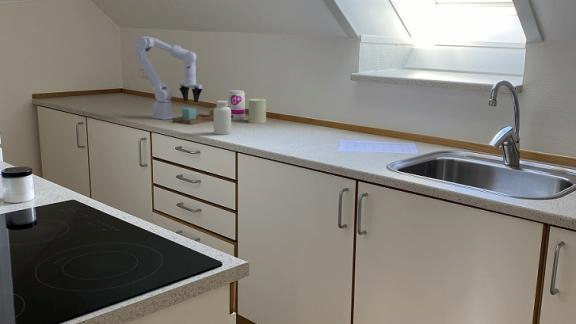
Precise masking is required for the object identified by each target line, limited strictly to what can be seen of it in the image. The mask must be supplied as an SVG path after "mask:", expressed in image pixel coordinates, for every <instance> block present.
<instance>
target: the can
mask: <svg viewBox="0 0 576 324" xmlns="http://www.w3.org/2000/svg"><path fill="white" fill-rule="evenodd" d="M248 123H250V124H265V123H267V99H265V98H249V99H248Z"/></svg>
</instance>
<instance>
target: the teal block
mask: <svg viewBox="0 0 576 324" xmlns="http://www.w3.org/2000/svg"><path fill="white" fill-rule="evenodd" d="M196 114H197V108H193V107H183V108H181V117H182V119H188V120H190V119H196Z"/></svg>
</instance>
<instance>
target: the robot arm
mask: <svg viewBox="0 0 576 324" xmlns="http://www.w3.org/2000/svg"><path fill="white" fill-rule="evenodd" d="M134 46H135V57H136V59H137V61H138V62H139V64H140V66H141V68H142V69H143V71H144V73H145V74H146V76H147V78H148V80H149V82H150V83H151V85H152V86H153V90H152V91H153V93H154V97H155V100H156V101H154V102H153V104H152V117H151V118H152V119H157V120H171V119H172V120H173V118H176V117H174V116H172V101H171V99H172V97H173V92H172V90H171V89H170V88H169V87H168V86H167V85H166V84H165V83H164V82H163V81H162V79H161V77H160V76H159V74H158V72H157V70H156V68H155V67H154V65H153V63H152V62H151V60H150V58H149V56H148V55H149V52H150V50H151V49H152V48H154V47H156V48H158V49H160V50H163V51H165V52H168V53H170V56H172V57H174V58H176V59H178V60H181V61H183V62H184V82H179V88H178V89H179V92H180V93H181V96H182V98H183V99H182V100H183V102H188V99H189V91H190V88H191V91H192V97H193V102H194V103H198V102H199V99H200V95H201V93H202V91H203V85H202V84H200V83H197V73H196V72H197V66H196V65H197V64H196V61H197V60H198V56H197V54H196V52H194V51H193V50H191V51H190V50H189V49H188V48H187V49H184V48H182V47H181V45H176V44H175V45H170V44H169V43H166V42H164V41H162V40H160V39H158V38H155V37H153V36H152V37H151V36H150V35H146V36H142V35H139V36H138V37H137V38H136V39H135V41H134Z"/></svg>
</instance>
